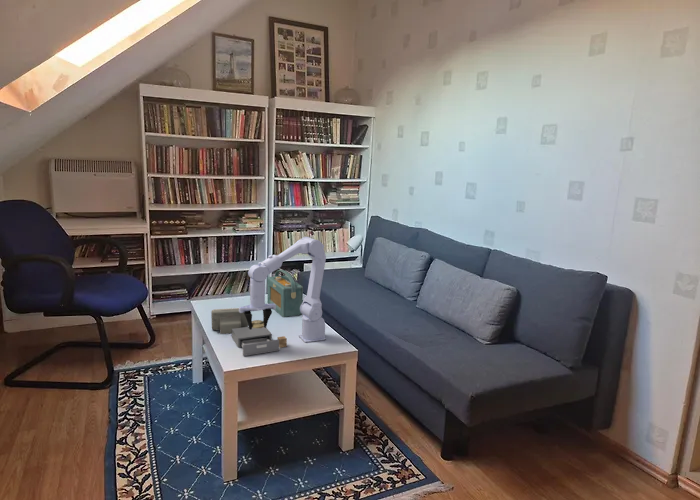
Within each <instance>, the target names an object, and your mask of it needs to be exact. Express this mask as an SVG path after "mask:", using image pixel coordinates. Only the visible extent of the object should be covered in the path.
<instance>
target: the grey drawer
mask: <svg viewBox="0 0 700 500" xmlns="http://www.w3.org/2000/svg"><path fill="white" fill-rule="evenodd" d="M240 345H241V346H242V347H241V348H242V356H243V357H245V356H252V355H260V354H264V353H265V354H266V353H267V354H268V353H272V352H278V351H280V348H279V340H277V339H272V340H271V341H270V340H269V339H268V337H263V338H255V339H248V340H241V341H240Z"/></svg>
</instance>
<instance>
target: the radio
mask: <svg viewBox="0 0 700 500" xmlns="http://www.w3.org/2000/svg"><path fill="white" fill-rule="evenodd" d="M280 273H282V274H284V275H280ZM303 299H304V287H303V285H301V284H300V283H298V282H296V281H295V280H294V277H293V276H292V275H291V273H289V272H288V271H286V270H284V269H277V270H275V273H274V276H267V303H266V304H275V305H276V309H273V310H275V312H277V313H278V315H280V316H281V317H283V318H288V317H289V318H290V317H295V316H303V314H302V313H301V312H300V306H301V304H302V303H303Z"/></svg>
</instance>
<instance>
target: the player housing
mask: <svg viewBox="0 0 700 500" xmlns="http://www.w3.org/2000/svg"><path fill="white" fill-rule="evenodd" d="M263 337H268V339H269V340H270V341H271V340H273V333H271V332H270V330H269V329H268V327H266V328H265V327H263V328H252V329H251V330H250V329H249V326H248V327H243V328H235V329H232V333H231V339H232V341H233V342H234V344H235V345H236V347H237V348H238V349H240V347H241V348H242V346H241V345H240V341H241V340H248V339H255V338H263Z"/></svg>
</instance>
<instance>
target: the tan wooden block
mask: <svg viewBox="0 0 700 500" xmlns="http://www.w3.org/2000/svg"><path fill="white" fill-rule="evenodd" d="M276 340H279V349H280V348H281V349H282V348H287V347H288V346H287V345H288V340H287V338H286V336H284V335H283V336H277V338H276Z"/></svg>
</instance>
